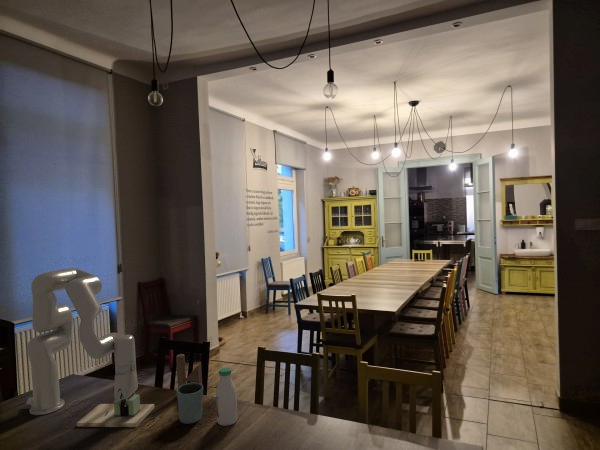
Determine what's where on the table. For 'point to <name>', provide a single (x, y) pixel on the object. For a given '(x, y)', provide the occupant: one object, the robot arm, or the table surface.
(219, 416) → the milk bottle
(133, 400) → the block
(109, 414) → the birch board
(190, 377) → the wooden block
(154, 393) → the table surface
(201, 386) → the blue cup
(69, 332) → the robot arm
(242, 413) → the table surface
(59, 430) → the table surface
